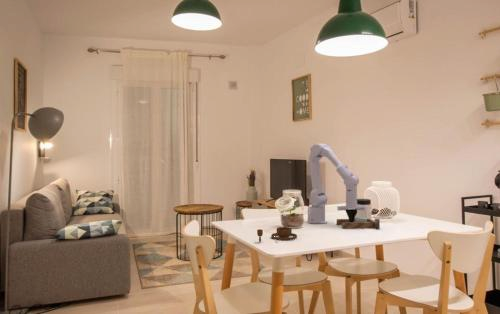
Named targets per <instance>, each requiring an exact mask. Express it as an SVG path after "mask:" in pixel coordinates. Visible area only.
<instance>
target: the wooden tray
mask: <svg viewBox="0 0 500 314" xmlns="http://www.w3.org/2000/svg"><path fill="white" fill-rule="evenodd" d="M380 222H381V221H380V218H374V220H373V219H372V218H371V219H367V222H349V218H336V226H341V228H342V230H343V229H345V230H347V229H350V230H351V229H352V230H353V229H354V230H355V229H375V230H380V229H381V228H380V225H381V224H380Z"/></svg>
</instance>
